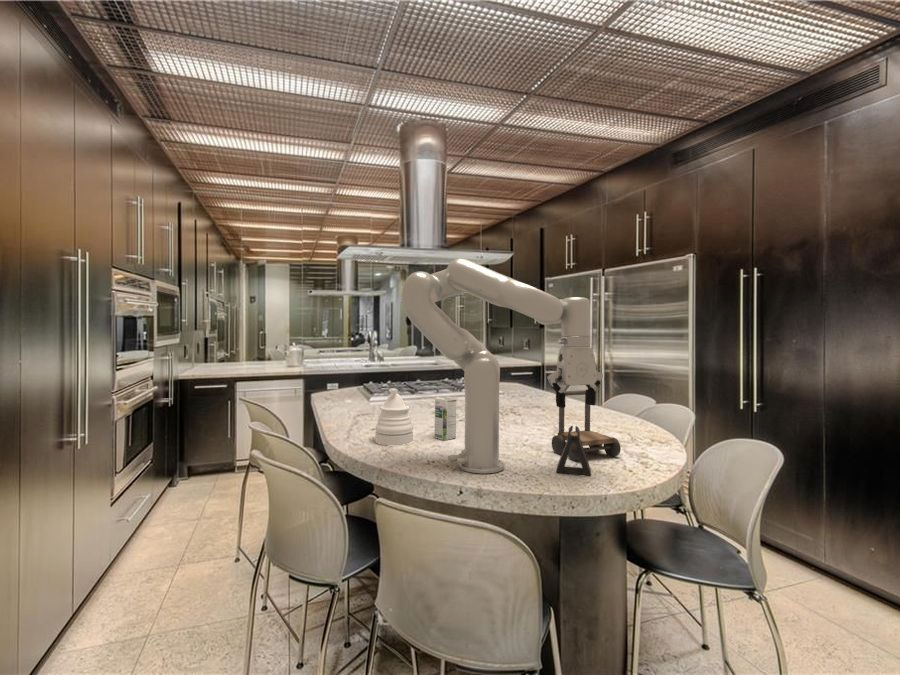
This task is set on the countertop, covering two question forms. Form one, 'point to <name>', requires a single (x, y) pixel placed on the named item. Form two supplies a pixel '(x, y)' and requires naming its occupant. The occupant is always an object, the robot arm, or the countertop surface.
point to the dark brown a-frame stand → (584, 462)
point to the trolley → (583, 435)
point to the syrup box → (445, 418)
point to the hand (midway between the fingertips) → (575, 405)
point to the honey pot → (394, 422)
